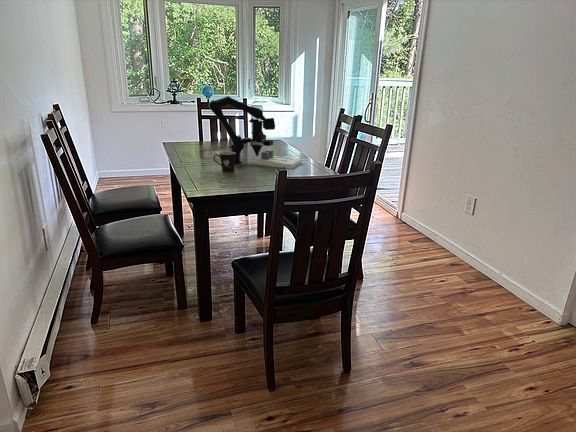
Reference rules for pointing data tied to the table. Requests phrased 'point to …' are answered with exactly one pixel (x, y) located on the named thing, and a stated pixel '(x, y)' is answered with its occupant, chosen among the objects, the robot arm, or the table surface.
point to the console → (280, 162)
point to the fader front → (265, 155)
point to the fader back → (270, 152)
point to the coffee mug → (227, 161)
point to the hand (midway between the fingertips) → (257, 155)
